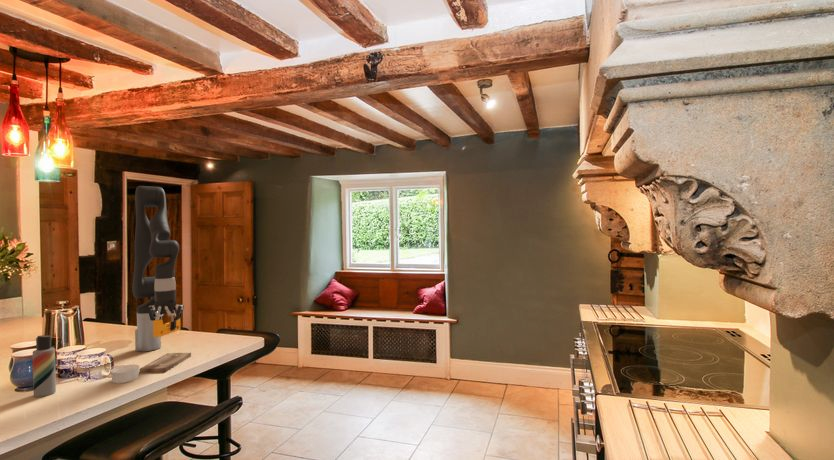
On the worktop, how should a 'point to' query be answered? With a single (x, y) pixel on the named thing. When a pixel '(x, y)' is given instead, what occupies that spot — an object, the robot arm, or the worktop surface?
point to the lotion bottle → (44, 367)
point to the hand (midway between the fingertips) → (166, 330)
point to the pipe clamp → (163, 328)
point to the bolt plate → (165, 362)
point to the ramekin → (124, 373)
